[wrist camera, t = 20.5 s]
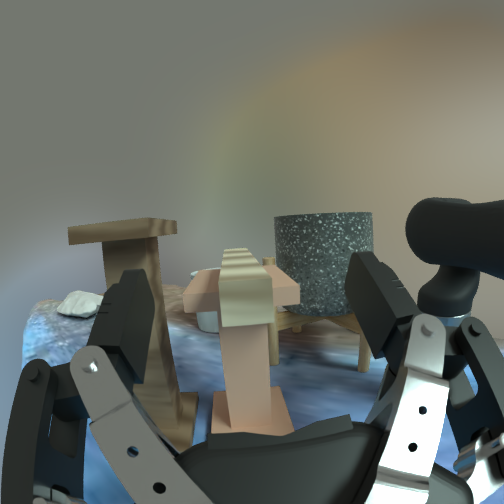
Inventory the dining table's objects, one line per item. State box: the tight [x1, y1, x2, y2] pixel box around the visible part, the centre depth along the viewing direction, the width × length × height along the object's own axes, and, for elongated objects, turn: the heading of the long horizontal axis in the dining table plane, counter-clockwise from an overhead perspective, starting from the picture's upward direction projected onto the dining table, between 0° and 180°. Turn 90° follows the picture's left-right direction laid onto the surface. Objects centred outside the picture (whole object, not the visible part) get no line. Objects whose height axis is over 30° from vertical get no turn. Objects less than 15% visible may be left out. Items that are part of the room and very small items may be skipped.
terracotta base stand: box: [183, 265, 300, 436], centre depth 37 cm, size 16×12×24 cm
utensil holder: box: [190, 268, 221, 333], centre depth 85 cm, size 15×15×18 cm
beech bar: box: [218, 248, 274, 327], centre depth 31 cm, size 26×3×3 cm, turn 5°
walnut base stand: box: [68, 218, 199, 453], centre depth 36 cm, size 16×10×32 cm, turn 5°
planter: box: [262, 212, 374, 373], centre depth 62 cm, size 22×22×32 cm
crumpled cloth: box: [57, 291, 104, 317], centre depth 99 cm, size 24×35×9 cm
